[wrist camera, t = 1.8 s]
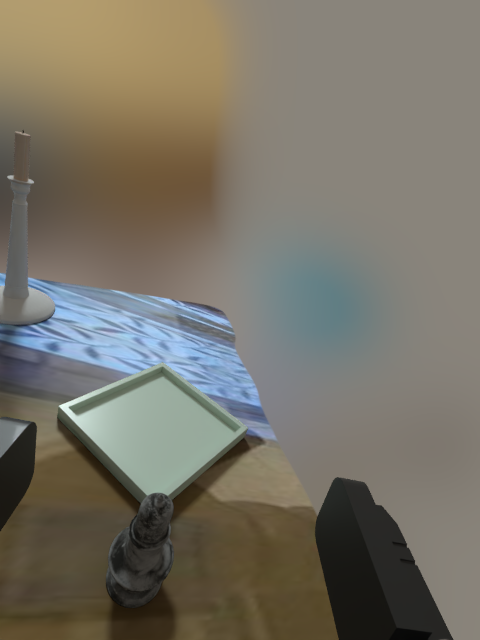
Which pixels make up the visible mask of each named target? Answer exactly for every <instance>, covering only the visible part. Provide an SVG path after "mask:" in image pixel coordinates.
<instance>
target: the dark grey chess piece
mask: <svg viewBox="0 0 480 640" xmlns="http://www.w3.org/2000/svg"><path fill="white" fill-rule="evenodd" d="M173 509H174V506H173V502H172V500H171V499H170V498H169V497H168V496H167V495H165V494H163V493H152V494H150V495H148V496H147V497H146V498H145V499H144V500H143V501H142V503H141V505H140V508H139V512H138V514H137V515H136V516H135V517H134V518H133V520H132V522H131V524H130V526H129V527H127V528H125V529H124V530H123V531H121V532H120V533H119V534H118V535H117V537H116V538H115V539H114V541H113V543H112V545H111V547H110V550H109V555H108V566H109V568H108V571H107V575H106V587H107V590H108V593H109V595H110V596H111V598H112V599H113V600H114V601H115V602H116V603H117V604H119V605H121V606H123V607H126V608H136V607H140V606H143V605H145V604H146V603H148V602H150V601H151V600H152V599H153V598H154V597H155V596H156V594H157V592H158V591H159V589H160V586H161V583H162V581H163V580H164V579H165V578H166V577H167V575H168V573H169V572H170V570H171V567H172V564H173V559H174V551H173V545H172V543H171V541H170V538H169V536H170V532H171V526H170V520H171V518H172V515H173Z"/></svg>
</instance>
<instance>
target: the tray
mask: <svg viewBox="0 0 480 640" xmlns="http://www.w3.org/2000/svg"><path fill="white" fill-rule="evenodd" d="M57 418H58V419H59V420H60V421H61V422H62V423H63V424H64V425H65V426H66V427H67V428H68V429H69V430H70V431H71V432H72V433H73V434H74V435H75V436H76V437H77V438H78V439H79V440H80V441H81V442H82V443H83V445H84V446H85V447H86V448H87V449H88V450H89V451H90V452H91V453H92V454H93V455H94V456H95V457H96V458H97V459H98V460H99V461H100V462H101V463H102V464H103V465H104V466H105V467H106V468H107V469H108V470H109V471H110V472H111V474H112V475H113V476H114V477H115V478H116V479H117V480H118V481H119V482H120V483H121V484H122V485H123V486H124V487H125V488H126V489H127V490H128V491H129V492H130V493H131V494H132V495H133V496H134V497H135V498H136V499H137V500H138V501H139V502H140V504H141V503H142V501H143V500H144V499H145V498H146V497H147V496H148V495H150V494H152V493H163V494H165V495H167V496H168V497H169V498H170V499H171V500H173V499H174V498H175V497H176V496H177V495H178V494H180V493H181V492H182V491H183V490H184V489H185V488H186V487H188V486H189V485H190V484H191V483H192V482H193V481H195V480H196V479H197V478H198V477H199V476H200V475H201V474H203V473H204V472H205V471H206V470H207V469H208V468H209V467H211V466H212V465H213V464H214V463H215V462H216V461H218V460H219V459H220V458H221V457H222V456H223V455H224V454H226V453H227V452H228V451H229V450H230V449H231V448H232V447H234V446H235V445H236V444H237V443H238V442H239V441H241V440H242V439H243V438H244V437H245V434H246V432H247V430H248V427H247V426H245V425H244V424H243V423H241V422H240V421H239V420H237V419H236V418H235V417H233V416H232V415H231V414H230V413H228V412H227V411H226V410H224V409H223V408H222V407H220V406H219V405H218V404H217V403H215V402H214V401H213V400H211V399H210V398H209V397H207V396H206V395H205V394H203V393H202V392H201V391H200V390H198V389H197V388H196V387H194V386H193V385H192V384H190V383H189V382H188V381H187V380H185V379H184V378H183V377H181V376H180V375H179V374H177V373H176V372H175V371H173V370H172V369H171V368H170V367H168V366H167V365H166V364H164V363H163V362H162V363H160V364H158V365H155V366H153V367H151V368H148V369H146V370H143V371H141V372H139V373H136V374H134V375H131V376H129V377H127V378H124V379H122V380H120V381H117V382H115V383H112V384H110V385H108V386H105V387H103V388H101V389H98V390H96V391H93V392H91V393H89V394H86V395H84V396H81V397H79V398H77V399H74V400H72V401H70V402H67V403H65V404H62V405H60V406H59V407H58V416H57Z"/></svg>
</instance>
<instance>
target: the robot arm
mask: <svg viewBox="0 0 480 640" xmlns="http://www.w3.org/2000/svg"><path fill="white" fill-rule="evenodd" d="M36 432H37V426H36V423H34V422H30V421H25V420H19V419H14V418H8V417H1V418H0V531H1V529H2V528H3V526H4V525H5V523H6V522H7V520H8V519H9V517H10V516H11V514H12V513H13V511H14V510H15V508H16V507H17V505H18V504H19V502H20V501H21V499H22V498H23V496H24V495H25V493H26V491H27V489H28V487H29V485H30V482H31V480H32V477H33V473H34V465H35V448H36ZM315 537H316V543H317V548H318V552H319V556H320V561H321V565H322V569H323V573H324V578H325V582H326V586H327V591H328V595H329V599H330V603H331V608H332V612H333V616H334V621H335V625H336V629H337V633H338V638H339V640H453V638H452V636H451V634H450V632H449V630H448V628H447V626H446V624H445V622H444V620H443V618H442V616H441V614H440V612H439V610H438V608H437V606H436V603H435V601H434V599H433V598H432V595H431V593H430V591H429V589H428V587H427V585H426V583H425V581H424V579H423V577H422V575H421V572H420V570H419V569H418V566H417V565H415V560H414V558H413V556H412V554H411V552H410V550H409V548H407V543H406V541H405V539H404V537H403V535H402V533H401V531H400V529H399V527H398V525H397V523H396V522H395V521H394V520H393V519H392V517H391V516H390V515H389V514H388V513H387V511H386V510H385V509H384V508H383V507H382V506H380V505H375V502H374V500H373V498H372V495H371V493H370V491H369V489H368V487H367V485H366V484H365V483H364V482H360V481H355V480H350V479H344V478H338V477H337V478H335V479H334V480H333V482H332V485H331V487H330V489H329V491H328V493H327V496H326V498H325V500H324V503H323V505H322V507H321V510H320V512H319V514H318V517H317V520H316V527H315Z"/></svg>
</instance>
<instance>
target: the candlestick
mask: <svg viewBox="0 0 480 640" xmlns="http://www.w3.org/2000/svg"><path fill="white" fill-rule="evenodd" d="M30 138H31V136H30V135H28V134H25V133H24V131H23V133H21V132H15V148H14V176H7V177H8V178H9V179H10V181H11V183H12V184H11V189H12V190H13V191H14V200H13V201H12V203H13V206H12V217H11V227H10V238H9V249H8V259H7V270H6V279H5V286H0V323H1V324H10V325H25V324H33V323H37V322H41V321H43V320H46V319H48V318H49V317H50V316H52V315H53V313H54V311H55V304H54V302H53V300H52V299H51V298H50V297H49V296H47V295H46V294H44V293H42V292H40V291H38V290H35V289H32V288H28V266H27V265H28V263H27V262H28V259H27V258H28V257H27V205H28V204H27V202H26V197H27V194H28V193H29V192H30V185H31V184H33V183H34V181H32V180H30V179H28V178H29V156H30Z"/></svg>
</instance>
